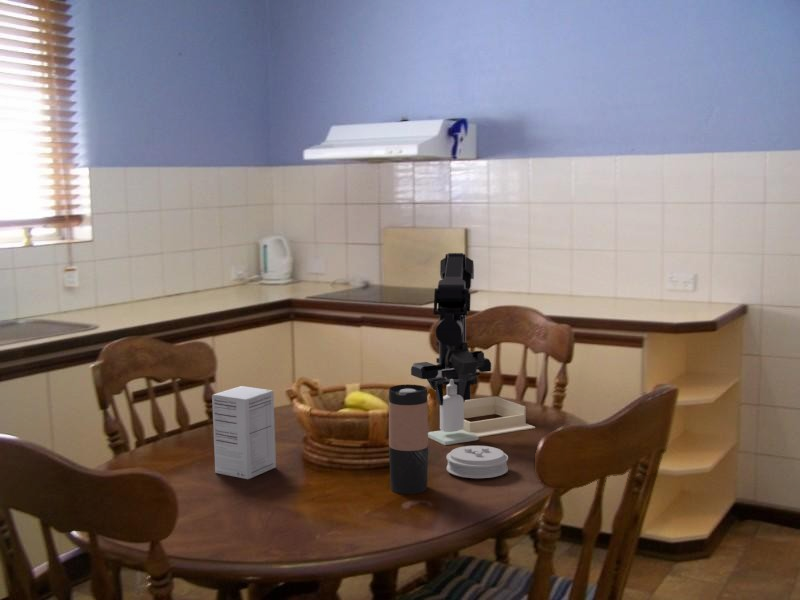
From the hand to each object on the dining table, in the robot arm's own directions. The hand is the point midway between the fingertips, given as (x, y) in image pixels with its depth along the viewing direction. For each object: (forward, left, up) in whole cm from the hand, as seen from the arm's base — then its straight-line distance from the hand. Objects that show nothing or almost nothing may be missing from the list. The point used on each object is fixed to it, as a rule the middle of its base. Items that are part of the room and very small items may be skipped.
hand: (451, 403), depth 222 cm
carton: (-6, +14, -8) cm, 17 cm away
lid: (+25, -9, -9) cm, 28 cm away
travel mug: (+27, -26, -8) cm, 39 cm away
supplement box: (0, -51, -8) cm, 51 cm away
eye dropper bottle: (0, 0, -7) cm, 7 cm away
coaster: (0, 0, -8) cm, 8 cm away
